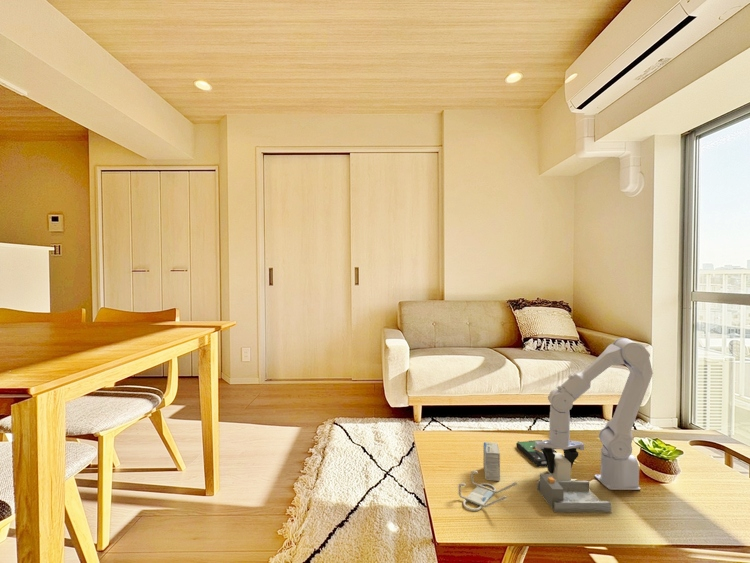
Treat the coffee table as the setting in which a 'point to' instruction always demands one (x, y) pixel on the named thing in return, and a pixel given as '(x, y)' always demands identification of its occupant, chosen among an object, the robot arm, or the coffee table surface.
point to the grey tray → (578, 499)
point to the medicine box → (491, 461)
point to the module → (561, 468)
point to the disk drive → (533, 452)
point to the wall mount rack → (481, 494)
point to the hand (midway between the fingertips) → (558, 471)
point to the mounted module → (551, 489)
